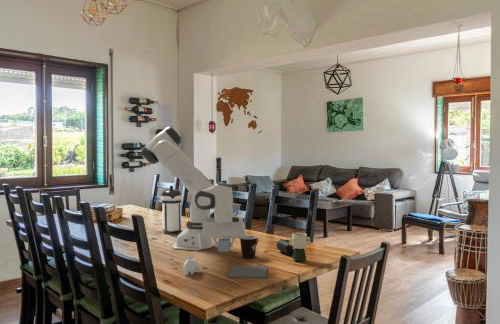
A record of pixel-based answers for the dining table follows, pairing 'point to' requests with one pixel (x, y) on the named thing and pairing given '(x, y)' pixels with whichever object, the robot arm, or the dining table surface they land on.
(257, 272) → the charcoal mat
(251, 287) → the dining table surface
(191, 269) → the elephant figurine
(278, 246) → the end cap
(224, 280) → the dining table surface
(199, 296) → the dining table surface
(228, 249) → the slate cube
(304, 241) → the character mug
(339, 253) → the dining table surface
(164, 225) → the coffee press
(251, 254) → the coffee mug
